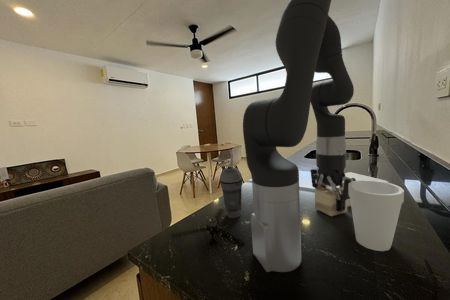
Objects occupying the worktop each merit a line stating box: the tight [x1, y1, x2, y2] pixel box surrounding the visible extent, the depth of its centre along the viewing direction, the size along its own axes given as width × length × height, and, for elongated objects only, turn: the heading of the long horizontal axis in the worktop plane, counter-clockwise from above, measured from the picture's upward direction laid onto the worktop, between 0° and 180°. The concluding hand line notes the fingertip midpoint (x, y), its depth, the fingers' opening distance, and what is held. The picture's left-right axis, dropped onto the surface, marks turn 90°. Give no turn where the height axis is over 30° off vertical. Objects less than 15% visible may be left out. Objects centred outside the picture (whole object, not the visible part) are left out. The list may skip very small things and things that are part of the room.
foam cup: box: [348, 180, 405, 252], centre depth 42 cm, size 10×9×13 cm
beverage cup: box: [219, 153, 244, 219], centre depth 60 cm, size 7×7×20 cm
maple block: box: [314, 186, 348, 217], centre depth 57 cm, size 6×6×6 cm
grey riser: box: [314, 171, 390, 208], centre depth 69 cm, size 18×14×5 cm
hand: (330, 206), depth 58 cm, fingers closed on maple block, 6 cm apart
